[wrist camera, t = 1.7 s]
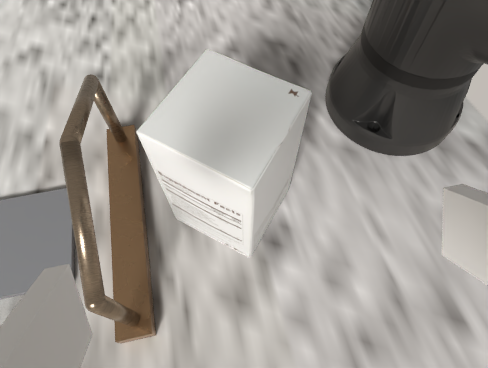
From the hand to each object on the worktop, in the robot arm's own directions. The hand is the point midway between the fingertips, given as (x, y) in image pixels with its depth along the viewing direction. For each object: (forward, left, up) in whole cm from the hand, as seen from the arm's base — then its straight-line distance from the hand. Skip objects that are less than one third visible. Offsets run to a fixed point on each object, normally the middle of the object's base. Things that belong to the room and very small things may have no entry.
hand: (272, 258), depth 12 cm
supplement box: (-1, -12, -21) cm, 24 cm away
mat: (+20, -12, -21) cm, 32 cm away
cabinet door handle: (+10, -12, -21) cm, 26 cm away
